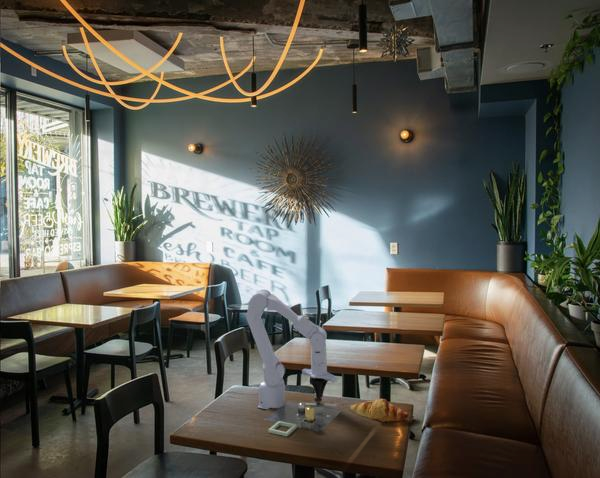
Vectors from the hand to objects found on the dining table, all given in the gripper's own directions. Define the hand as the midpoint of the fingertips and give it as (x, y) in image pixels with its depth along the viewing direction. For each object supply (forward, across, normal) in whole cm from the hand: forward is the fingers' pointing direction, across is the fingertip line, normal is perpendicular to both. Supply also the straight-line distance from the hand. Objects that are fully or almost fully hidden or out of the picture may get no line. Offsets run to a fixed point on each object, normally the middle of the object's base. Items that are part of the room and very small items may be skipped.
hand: (319, 397), depth 184 cm
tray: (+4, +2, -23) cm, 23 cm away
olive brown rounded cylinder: (+3, +7, -15) cm, 17 cm away
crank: (+3, +2, -4) cm, 6 cm away
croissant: (+5, +21, +7) cm, 23 cm away
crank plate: (+4, 0, -10) cm, 11 cm away
